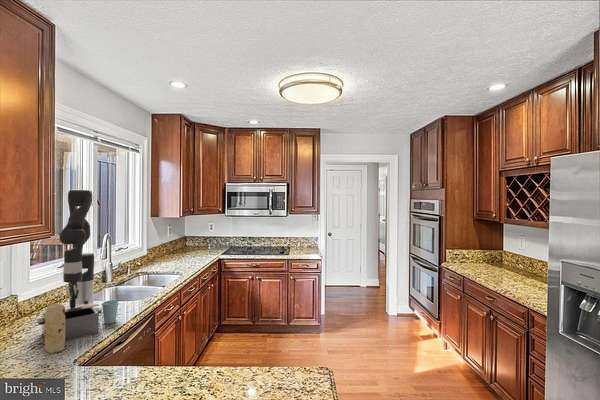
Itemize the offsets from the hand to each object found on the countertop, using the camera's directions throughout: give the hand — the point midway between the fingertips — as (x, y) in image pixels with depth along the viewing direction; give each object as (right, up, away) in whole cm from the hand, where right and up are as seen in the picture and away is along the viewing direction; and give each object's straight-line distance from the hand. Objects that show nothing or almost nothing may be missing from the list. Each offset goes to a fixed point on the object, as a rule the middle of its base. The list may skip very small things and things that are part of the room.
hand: (72, 307), depth 168 cm
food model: (+3, -14, -16) cm, 21 cm away
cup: (+7, -14, +20) cm, 25 cm away
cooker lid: (-2, -2, +2) cm, 4 cm away
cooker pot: (-3, -14, +3) cm, 15 cm away
